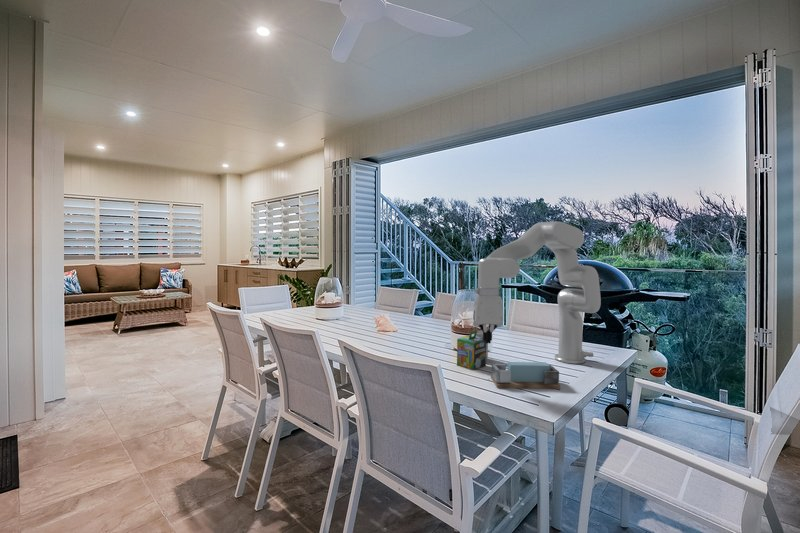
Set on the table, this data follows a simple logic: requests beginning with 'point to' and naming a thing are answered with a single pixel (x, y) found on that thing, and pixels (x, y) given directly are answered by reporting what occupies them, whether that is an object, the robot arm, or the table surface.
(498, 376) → the end cap
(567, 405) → the table surface
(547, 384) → the board
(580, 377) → the table surface
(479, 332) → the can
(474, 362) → the chalk box
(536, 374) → the grey-blue block
